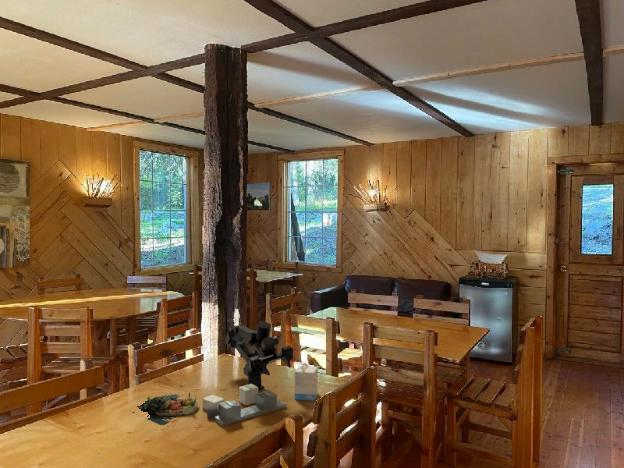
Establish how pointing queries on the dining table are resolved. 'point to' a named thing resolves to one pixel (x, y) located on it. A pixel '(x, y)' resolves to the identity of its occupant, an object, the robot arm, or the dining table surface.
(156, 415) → the plated dish
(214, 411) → the black knob
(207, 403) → the block
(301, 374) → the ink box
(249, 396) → the loose module
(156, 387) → the dining table surface
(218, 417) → the rail
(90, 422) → the dining table surface
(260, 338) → the robot arm
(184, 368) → the dining table surface
